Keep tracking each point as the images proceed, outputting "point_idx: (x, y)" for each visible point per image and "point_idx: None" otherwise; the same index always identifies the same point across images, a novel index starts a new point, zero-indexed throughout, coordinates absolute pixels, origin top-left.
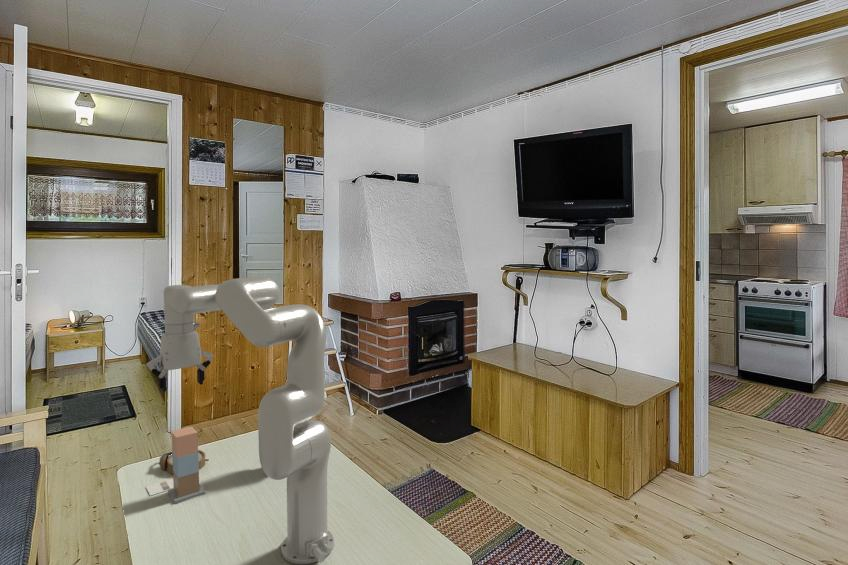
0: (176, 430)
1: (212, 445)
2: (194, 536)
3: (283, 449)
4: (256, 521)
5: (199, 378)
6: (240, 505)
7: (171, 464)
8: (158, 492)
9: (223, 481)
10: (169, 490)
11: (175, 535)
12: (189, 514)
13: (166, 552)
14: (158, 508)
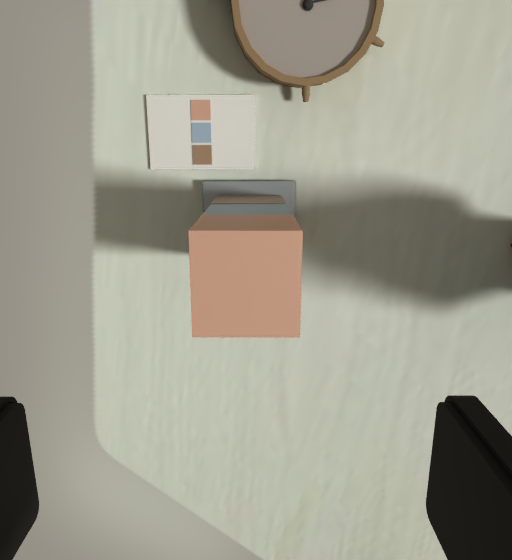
0: (214, 238)
1: None
2: (212, 446)
3: None
4: (350, 478)
5: (459, 544)
6: (350, 391)
7: (239, 36)
8: (175, 167)
9: (366, 228)
10: (204, 191)
11: (176, 416)
12: (226, 348)
13: (147, 463)
14: (161, 263)
